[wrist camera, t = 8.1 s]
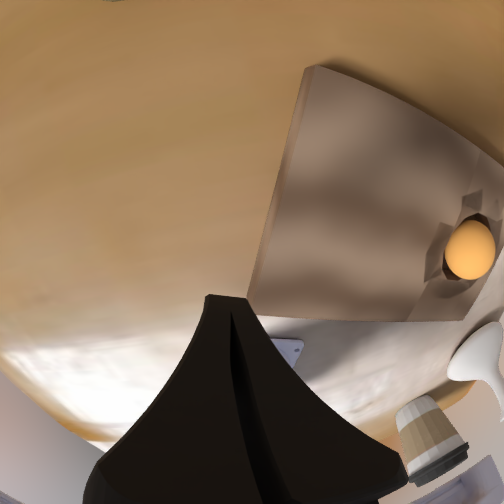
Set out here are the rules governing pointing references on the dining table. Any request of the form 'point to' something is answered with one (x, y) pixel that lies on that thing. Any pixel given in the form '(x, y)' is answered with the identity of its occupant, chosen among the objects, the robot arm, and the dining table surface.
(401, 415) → the coffee cup
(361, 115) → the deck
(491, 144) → the dining table surface
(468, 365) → the flower in vase
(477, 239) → the ball
